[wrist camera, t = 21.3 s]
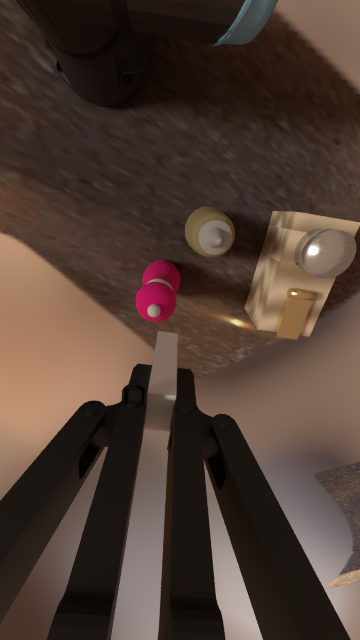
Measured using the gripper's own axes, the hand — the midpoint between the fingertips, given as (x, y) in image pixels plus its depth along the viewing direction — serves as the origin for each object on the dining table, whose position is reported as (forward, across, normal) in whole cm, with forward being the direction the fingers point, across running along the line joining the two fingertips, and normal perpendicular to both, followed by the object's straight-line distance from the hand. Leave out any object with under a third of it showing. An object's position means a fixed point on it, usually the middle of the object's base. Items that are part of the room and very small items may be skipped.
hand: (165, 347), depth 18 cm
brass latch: (+22, +22, -4) cm, 31 cm away
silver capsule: (+30, +22, +7) cm, 38 cm away
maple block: (+32, +22, +2) cm, 39 cm away
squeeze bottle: (+33, +5, +7) cm, 34 cm away
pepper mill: (+33, -2, -3) cm, 33 cm away
